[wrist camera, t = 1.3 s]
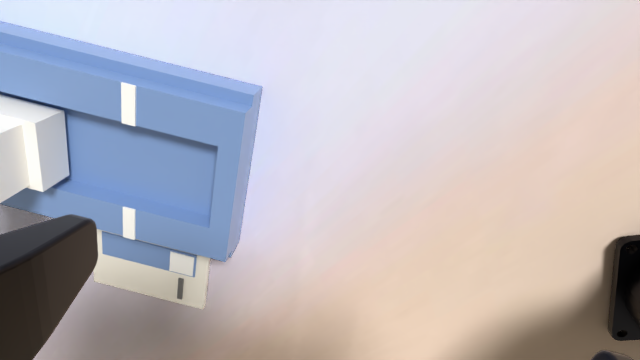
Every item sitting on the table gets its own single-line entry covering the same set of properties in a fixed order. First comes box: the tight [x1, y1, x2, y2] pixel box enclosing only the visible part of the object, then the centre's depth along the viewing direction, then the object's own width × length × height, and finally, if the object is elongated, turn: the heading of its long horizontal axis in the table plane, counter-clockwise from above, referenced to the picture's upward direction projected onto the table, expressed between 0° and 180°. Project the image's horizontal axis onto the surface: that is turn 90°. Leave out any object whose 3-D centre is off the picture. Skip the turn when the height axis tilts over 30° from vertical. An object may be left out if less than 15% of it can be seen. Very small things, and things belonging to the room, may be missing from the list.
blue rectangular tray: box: [0, 21, 262, 262], centre depth 20 cm, size 15×9×3 cm, turn 78°
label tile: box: [93, 229, 211, 310], centre depth 24 cm, size 7×5×1 cm
